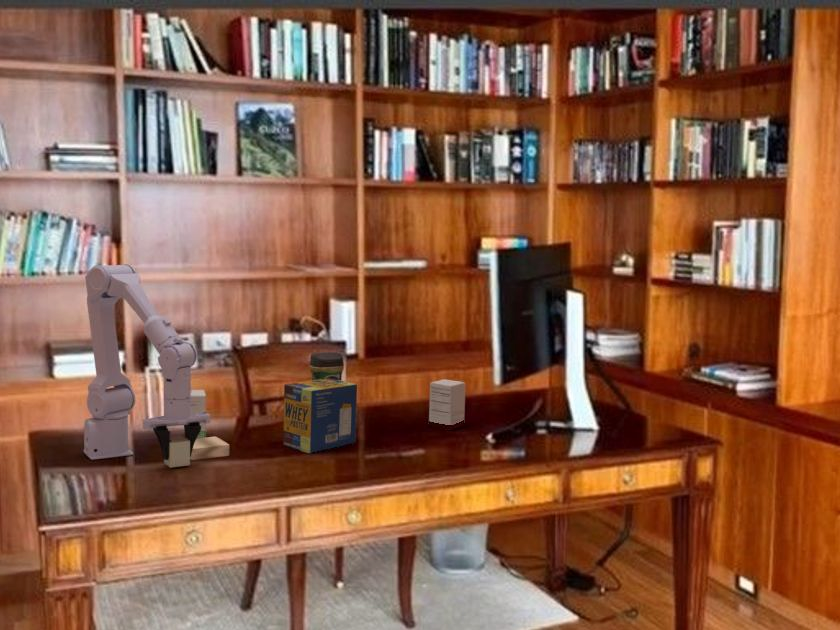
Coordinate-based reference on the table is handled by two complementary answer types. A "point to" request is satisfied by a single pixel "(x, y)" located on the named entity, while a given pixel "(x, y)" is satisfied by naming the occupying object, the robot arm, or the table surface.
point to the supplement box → (447, 402)
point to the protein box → (319, 414)
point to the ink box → (199, 408)
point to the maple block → (209, 448)
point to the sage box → (178, 451)
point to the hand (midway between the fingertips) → (176, 457)
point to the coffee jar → (326, 365)
